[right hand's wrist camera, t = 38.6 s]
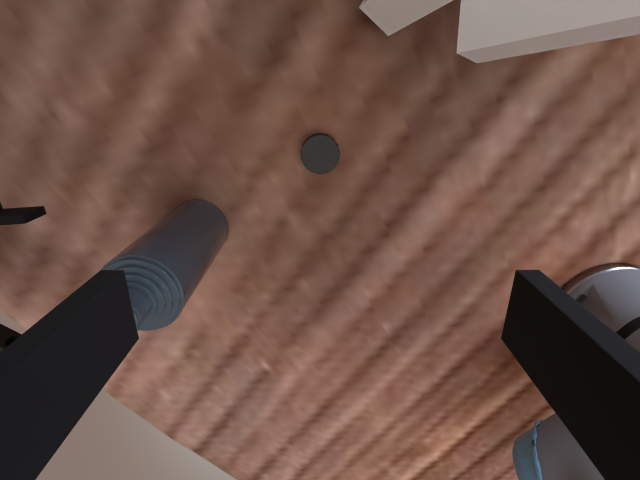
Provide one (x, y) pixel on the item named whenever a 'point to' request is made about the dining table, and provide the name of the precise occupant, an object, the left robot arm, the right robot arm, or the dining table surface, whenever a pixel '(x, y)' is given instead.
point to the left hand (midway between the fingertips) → (60, 280)
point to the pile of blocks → (516, 23)
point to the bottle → (170, 261)
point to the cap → (320, 153)
